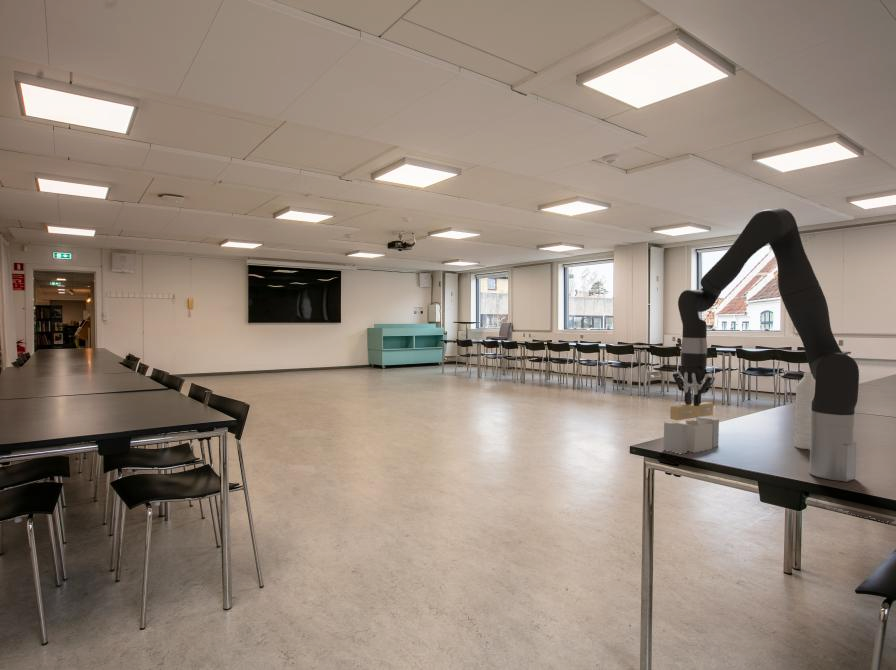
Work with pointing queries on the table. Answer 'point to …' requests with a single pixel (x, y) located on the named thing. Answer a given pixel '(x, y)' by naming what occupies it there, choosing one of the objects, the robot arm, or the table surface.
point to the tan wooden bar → (691, 411)
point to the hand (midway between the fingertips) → (692, 405)
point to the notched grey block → (691, 435)
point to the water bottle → (804, 411)
